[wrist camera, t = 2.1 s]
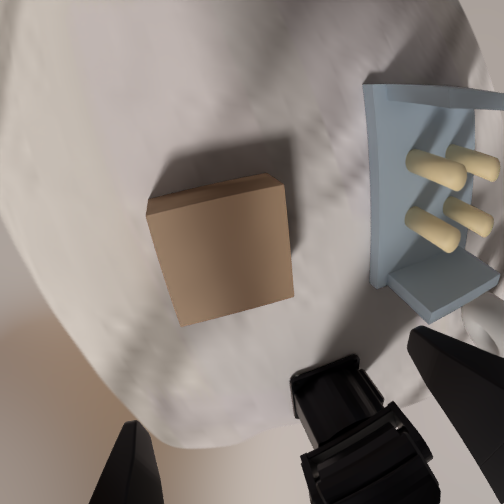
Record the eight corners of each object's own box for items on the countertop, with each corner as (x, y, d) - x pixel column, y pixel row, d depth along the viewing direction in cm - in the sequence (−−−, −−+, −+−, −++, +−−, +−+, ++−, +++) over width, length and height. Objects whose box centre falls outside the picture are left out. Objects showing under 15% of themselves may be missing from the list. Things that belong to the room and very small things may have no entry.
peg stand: (369, 282, 23) (417, 330, 17) (362, 84, 16) (435, 87, 11) (456, 247, 24) (503, 280, 19) (463, 87, 17) (526, 97, 12)
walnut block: (177, 296, 19) (180, 326, 17) (148, 197, 16) (145, 216, 14) (277, 271, 20) (294, 296, 18) (265, 171, 17) (284, 184, 15)
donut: (448, 290, 26) (517, 351, 18) (470, 267, 26) (540, 322, 18) (458, 335, 31) (509, 387, 23) (477, 316, 31) (528, 364, 22)
